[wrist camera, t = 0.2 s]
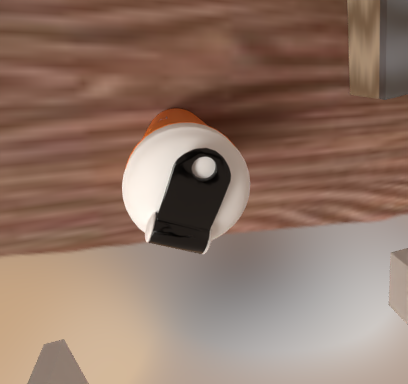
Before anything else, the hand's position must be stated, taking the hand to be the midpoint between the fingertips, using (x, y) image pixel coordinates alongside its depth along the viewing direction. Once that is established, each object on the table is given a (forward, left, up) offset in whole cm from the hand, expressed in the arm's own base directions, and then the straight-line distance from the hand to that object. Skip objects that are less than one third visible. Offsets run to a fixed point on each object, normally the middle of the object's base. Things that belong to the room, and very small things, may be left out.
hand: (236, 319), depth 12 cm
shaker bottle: (-2, -1, -28) cm, 28 cm away
